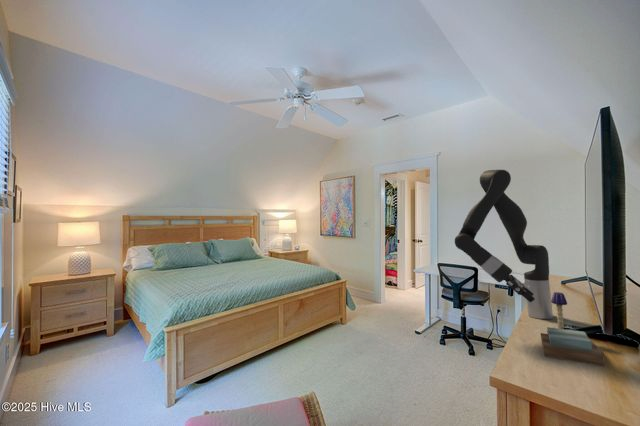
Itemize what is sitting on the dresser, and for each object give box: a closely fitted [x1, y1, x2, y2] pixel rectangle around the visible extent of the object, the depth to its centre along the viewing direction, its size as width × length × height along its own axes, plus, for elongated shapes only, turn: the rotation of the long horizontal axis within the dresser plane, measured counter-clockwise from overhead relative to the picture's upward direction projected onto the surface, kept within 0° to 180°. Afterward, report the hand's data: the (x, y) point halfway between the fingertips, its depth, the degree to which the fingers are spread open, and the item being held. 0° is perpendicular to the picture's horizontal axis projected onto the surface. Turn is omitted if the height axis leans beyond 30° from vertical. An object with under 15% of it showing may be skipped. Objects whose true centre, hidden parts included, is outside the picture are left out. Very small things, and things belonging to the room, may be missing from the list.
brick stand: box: [540, 327, 605, 367], centre depth 93 cm, size 14×14×6 cm
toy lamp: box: [551, 291, 568, 329], centre depth 106 cm, size 5×5×17 cm
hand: (532, 298), depth 111 cm, fingers open, 8 cm apart
